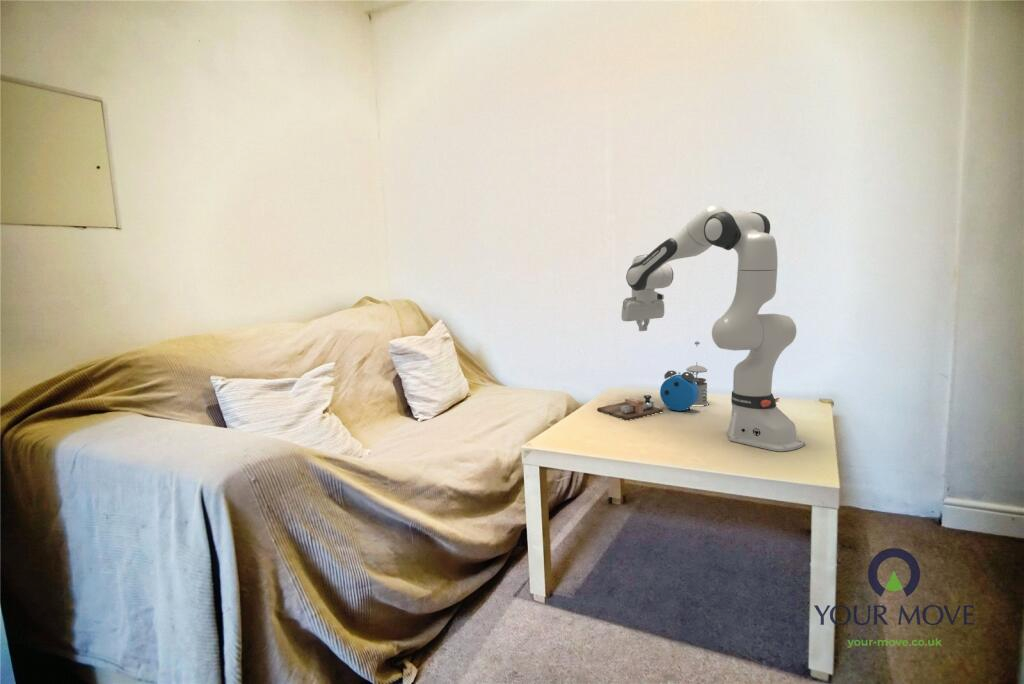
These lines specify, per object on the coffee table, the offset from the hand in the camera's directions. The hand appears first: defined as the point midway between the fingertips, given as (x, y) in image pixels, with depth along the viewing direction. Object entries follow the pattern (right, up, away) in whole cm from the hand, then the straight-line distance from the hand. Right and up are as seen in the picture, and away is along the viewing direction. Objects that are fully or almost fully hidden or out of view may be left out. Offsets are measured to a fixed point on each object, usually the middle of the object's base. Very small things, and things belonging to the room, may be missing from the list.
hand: (643, 330), depth 212 cm
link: (-5, -30, -13) cm, 33 cm away
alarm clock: (+11, -31, -9) cm, 34 cm away
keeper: (-7, -30, -14) cm, 34 cm away
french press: (+21, -29, 0) cm, 36 cm away
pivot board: (-8, -31, -10) cm, 33 cm away
